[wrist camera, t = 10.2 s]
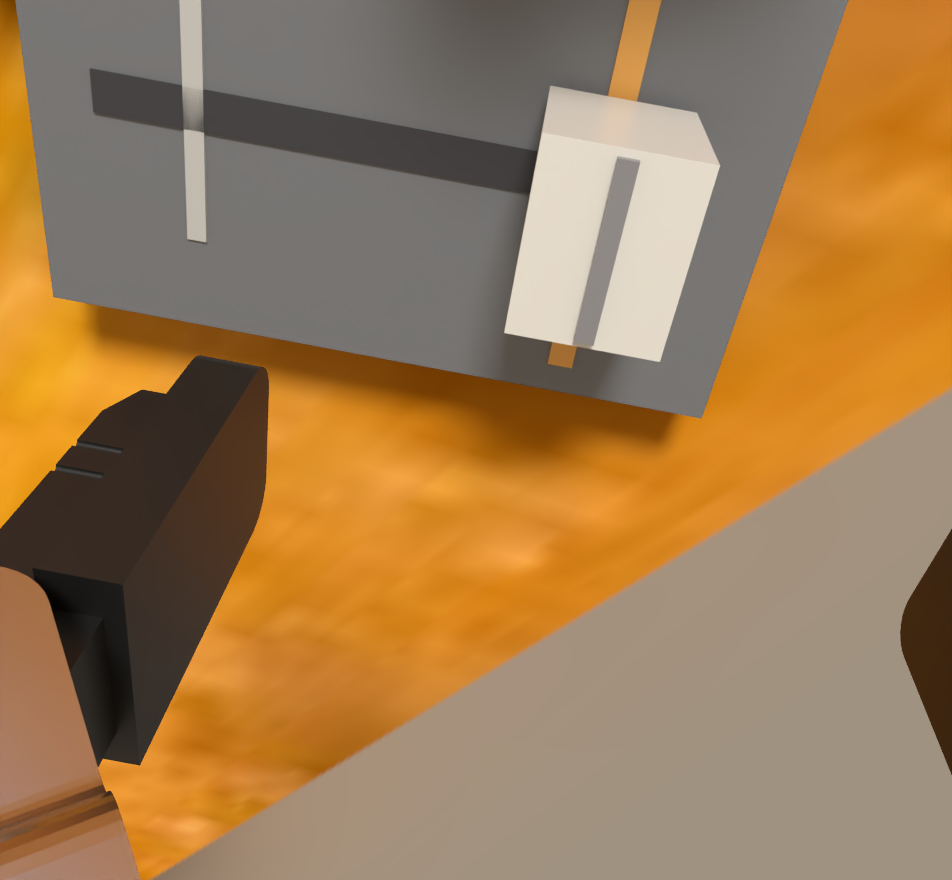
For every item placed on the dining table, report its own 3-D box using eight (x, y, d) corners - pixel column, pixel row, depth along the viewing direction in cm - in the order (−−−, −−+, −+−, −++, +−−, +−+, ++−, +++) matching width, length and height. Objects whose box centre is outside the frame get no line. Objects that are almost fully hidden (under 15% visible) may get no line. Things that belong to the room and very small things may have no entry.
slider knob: (517, 259, 26) (503, 336, 22) (550, 85, 24) (541, 134, 19) (648, 283, 26) (660, 365, 22) (697, 112, 24) (721, 168, 19)
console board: (95, 263, 32) (51, 298, 29) (49, -212, 24) (-16, -221, 22) (692, 374, 32) (701, 419, 29) (840, -67, 24) (869, -59, 21)
